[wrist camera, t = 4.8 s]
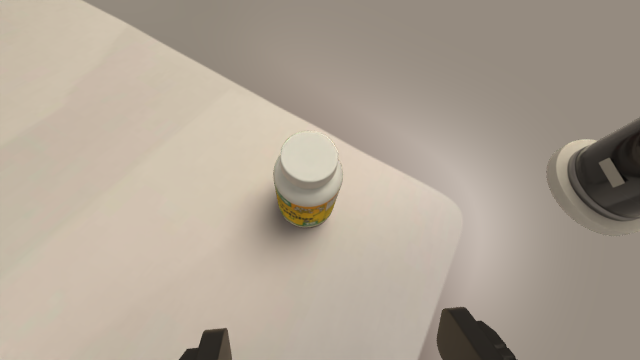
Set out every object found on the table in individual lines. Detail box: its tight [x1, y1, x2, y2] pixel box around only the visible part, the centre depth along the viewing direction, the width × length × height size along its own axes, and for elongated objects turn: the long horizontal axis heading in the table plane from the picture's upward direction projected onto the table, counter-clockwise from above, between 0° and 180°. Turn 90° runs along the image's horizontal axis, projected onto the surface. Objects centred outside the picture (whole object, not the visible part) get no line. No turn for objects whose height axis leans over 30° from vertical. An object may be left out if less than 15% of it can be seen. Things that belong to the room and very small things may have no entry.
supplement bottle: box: [273, 131, 343, 227], centre depth 24 cm, size 5×5×10 cm
